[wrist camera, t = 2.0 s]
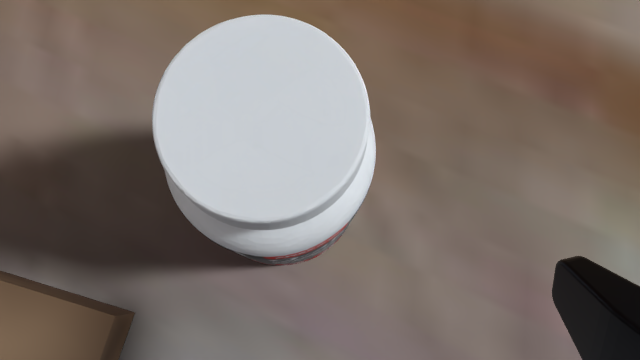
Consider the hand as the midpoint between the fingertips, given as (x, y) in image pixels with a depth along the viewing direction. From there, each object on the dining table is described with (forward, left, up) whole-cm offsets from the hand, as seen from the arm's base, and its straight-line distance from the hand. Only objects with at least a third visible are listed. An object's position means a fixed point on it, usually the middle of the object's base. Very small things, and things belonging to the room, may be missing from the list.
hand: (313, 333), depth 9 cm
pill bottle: (+4, +2, -11) cm, 12 cm away
